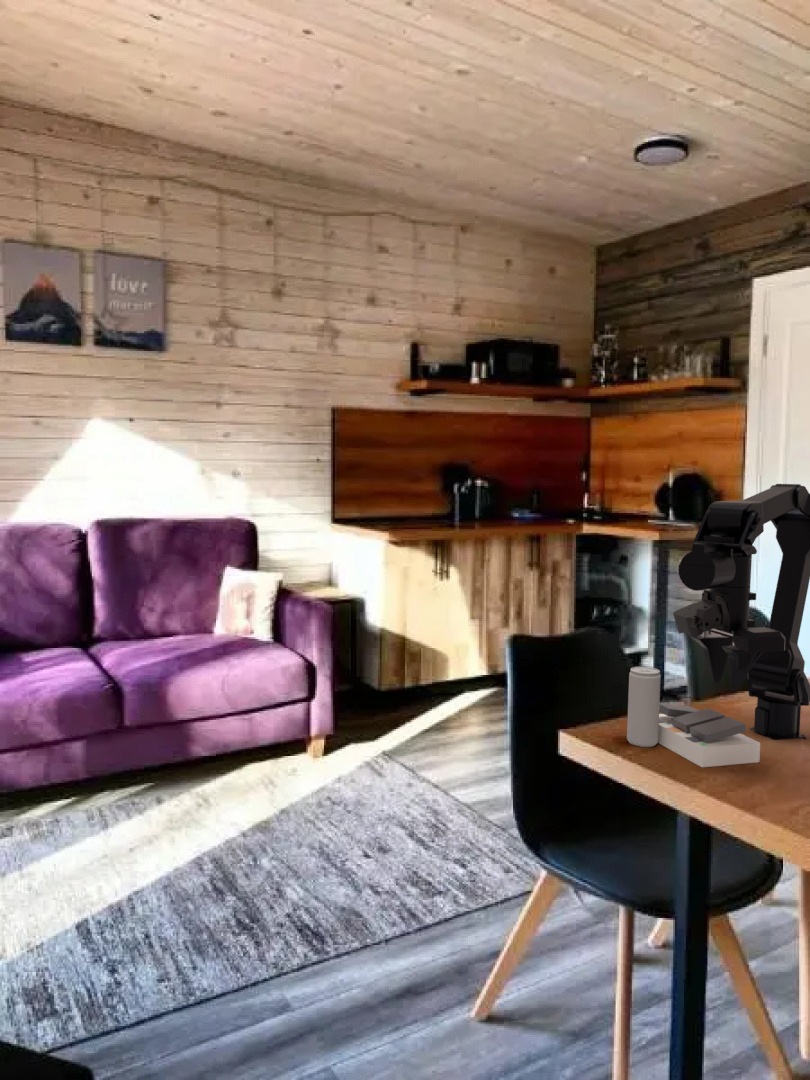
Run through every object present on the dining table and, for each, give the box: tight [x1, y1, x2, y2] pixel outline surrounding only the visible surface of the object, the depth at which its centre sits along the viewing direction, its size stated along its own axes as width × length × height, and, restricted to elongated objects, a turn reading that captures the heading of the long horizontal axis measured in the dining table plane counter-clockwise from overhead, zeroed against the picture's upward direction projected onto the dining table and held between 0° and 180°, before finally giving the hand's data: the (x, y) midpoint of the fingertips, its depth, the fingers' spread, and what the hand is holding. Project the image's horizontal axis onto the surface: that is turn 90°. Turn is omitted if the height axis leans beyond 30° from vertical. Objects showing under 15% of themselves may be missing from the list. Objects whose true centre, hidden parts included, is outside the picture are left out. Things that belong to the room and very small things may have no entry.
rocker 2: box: [671, 707, 726, 733], centre depth 136 cm, size 7×4×1 cm, turn 106°
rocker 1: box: [659, 702, 700, 717], centre depth 140 cm, size 7×4×1 cm, turn 106°
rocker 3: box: [690, 716, 747, 743], centre depth 131 cm, size 7×4×1 cm, turn 106°
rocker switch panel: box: [657, 713, 761, 768], centre depth 136 cm, size 10×17×3 cm, turn 16°
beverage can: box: [626, 666, 661, 748], centre depth 137 cm, size 5×5×12 cm
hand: (725, 686), depth 131 cm, fingers open, 4 cm apart
